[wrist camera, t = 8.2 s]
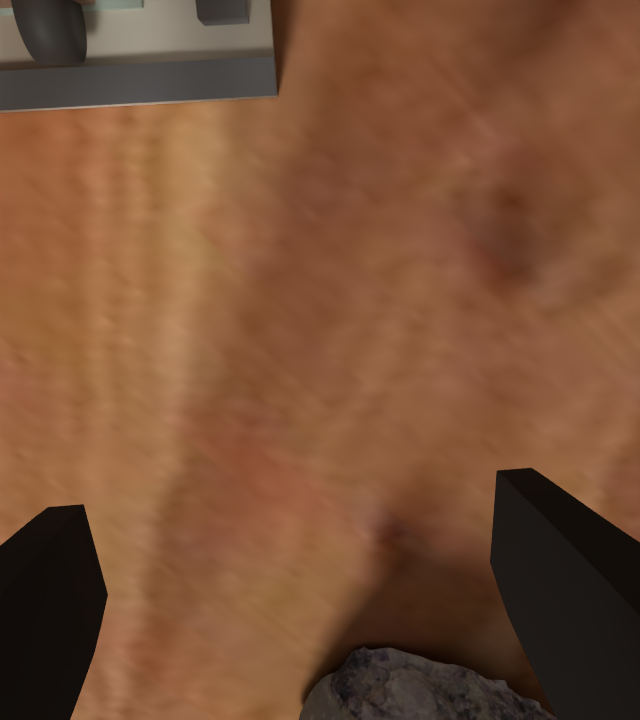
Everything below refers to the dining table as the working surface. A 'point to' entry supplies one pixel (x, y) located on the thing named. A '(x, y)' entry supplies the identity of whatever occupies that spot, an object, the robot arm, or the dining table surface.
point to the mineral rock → (413, 692)
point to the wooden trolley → (51, 29)
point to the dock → (148, 57)
